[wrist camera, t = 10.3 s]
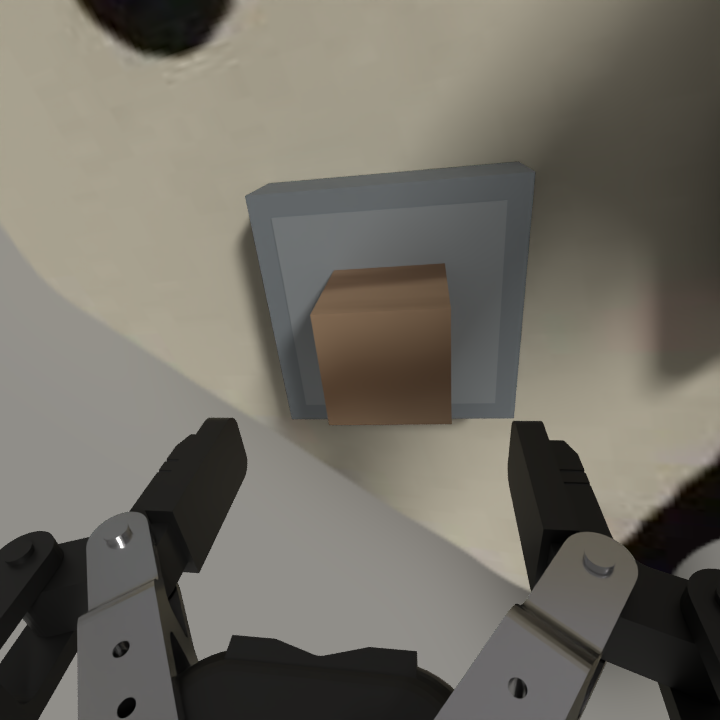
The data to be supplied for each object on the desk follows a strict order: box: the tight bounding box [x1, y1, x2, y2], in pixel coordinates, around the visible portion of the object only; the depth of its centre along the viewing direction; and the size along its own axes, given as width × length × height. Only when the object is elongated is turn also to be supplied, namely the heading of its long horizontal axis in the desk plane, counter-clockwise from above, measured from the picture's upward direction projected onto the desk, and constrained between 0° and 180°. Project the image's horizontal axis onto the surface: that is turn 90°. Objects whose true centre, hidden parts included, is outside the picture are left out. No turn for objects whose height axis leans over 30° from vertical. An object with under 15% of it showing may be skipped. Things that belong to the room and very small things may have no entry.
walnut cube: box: [310, 263, 452, 425], centre depth 19 cm, size 5×5×5 cm
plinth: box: [245, 162, 535, 419], centre depth 23 cm, size 12×12×4 cm
